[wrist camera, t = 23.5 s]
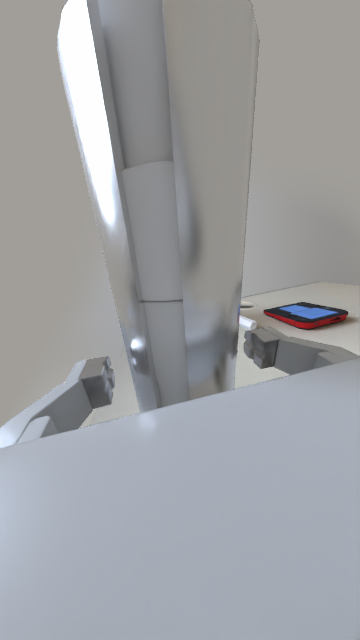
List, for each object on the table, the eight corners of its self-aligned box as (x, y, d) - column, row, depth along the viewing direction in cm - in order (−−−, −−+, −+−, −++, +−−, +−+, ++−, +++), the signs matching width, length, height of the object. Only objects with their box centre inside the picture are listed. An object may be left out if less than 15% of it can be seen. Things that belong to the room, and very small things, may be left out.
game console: (301, 305, 51) (302, 298, 50) (351, 320, 40) (354, 311, 39) (261, 313, 48) (262, 305, 47) (303, 332, 36) (306, 322, 35)
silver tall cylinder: (141, 473, 15) (18, 46, 5) (185, 420, 20) (161, 131, 10) (201, 548, 11) (139, -545, 1) (240, 460, 16) (288, 40, 6)
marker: (213, 313, 53) (253, 332, 39) (208, 311, 52) (248, 330, 38) (216, 305, 52) (259, 321, 39) (211, 303, 51) (253, 319, 38)
